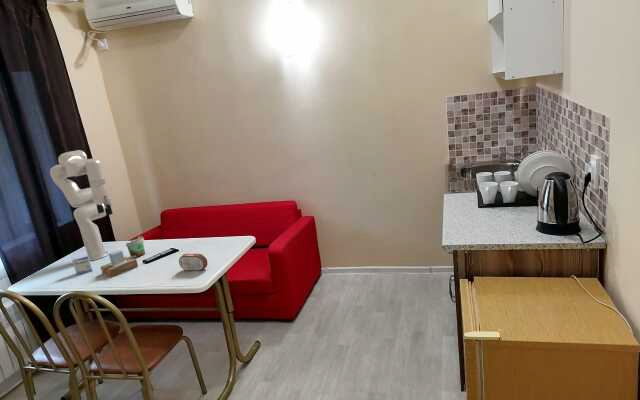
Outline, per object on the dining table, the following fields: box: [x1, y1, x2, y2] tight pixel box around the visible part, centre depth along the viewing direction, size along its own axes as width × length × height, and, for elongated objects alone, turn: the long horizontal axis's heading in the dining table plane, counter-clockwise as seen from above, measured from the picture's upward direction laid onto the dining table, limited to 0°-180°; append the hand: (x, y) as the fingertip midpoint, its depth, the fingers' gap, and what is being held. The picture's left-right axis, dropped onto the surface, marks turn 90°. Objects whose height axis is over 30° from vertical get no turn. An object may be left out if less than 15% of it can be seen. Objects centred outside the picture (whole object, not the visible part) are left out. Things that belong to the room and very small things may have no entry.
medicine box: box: [72, 254, 93, 276], centre depth 250 cm, size 8×4×9 cm, turn 118°
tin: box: [178, 253, 209, 272], centre depth 226 cm, size 15×3×8 cm, turn 71°
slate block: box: [108, 249, 125, 265], centre depth 243 cm, size 5×5×6 cm
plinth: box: [100, 256, 139, 278], centre depth 244 cm, size 12×14×4 cm
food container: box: [125, 235, 146, 259], centre depth 264 cm, size 12×6×10 cm, turn 168°
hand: (105, 213), depth 250 cm, fingers open, 9 cm apart
